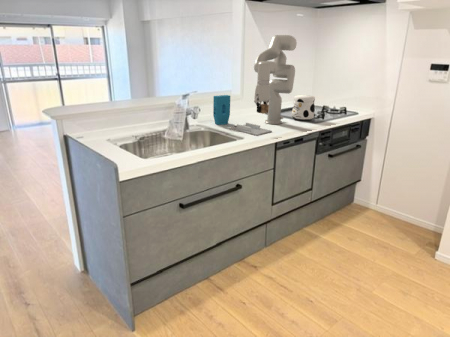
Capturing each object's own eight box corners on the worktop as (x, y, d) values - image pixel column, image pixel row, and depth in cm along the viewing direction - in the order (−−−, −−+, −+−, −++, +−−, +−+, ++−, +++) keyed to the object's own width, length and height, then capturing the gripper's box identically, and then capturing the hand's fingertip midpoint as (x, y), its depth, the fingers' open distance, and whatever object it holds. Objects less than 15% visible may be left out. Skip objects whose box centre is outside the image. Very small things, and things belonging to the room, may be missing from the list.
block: (216, 125, 237) (217, 96, 230) (212, 123, 241) (213, 95, 234) (230, 123, 244) (231, 95, 237) (226, 122, 247) (226, 94, 240)
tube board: (245, 125, 238) (245, 121, 237) (271, 131, 222) (272, 127, 221) (229, 128, 228) (229, 124, 226) (256, 135, 212) (256, 130, 211)
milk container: (287, 119, 263) (289, 96, 257) (297, 116, 275) (300, 94, 269) (306, 122, 252) (309, 98, 246) (317, 119, 265) (320, 96, 259)
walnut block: (262, 111, 218) (262, 103, 216) (268, 112, 214) (268, 104, 213) (257, 112, 214) (257, 104, 213) (263, 113, 211) (263, 105, 209)
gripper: (267, 81, 217) (265, 109, 223) (249, 83, 205) (248, 112, 212) (276, 82, 212) (274, 110, 218) (259, 84, 200) (257, 114, 207)
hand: (261, 111), depth 215 cm, fingers closed on walnut block, 4 cm apart
